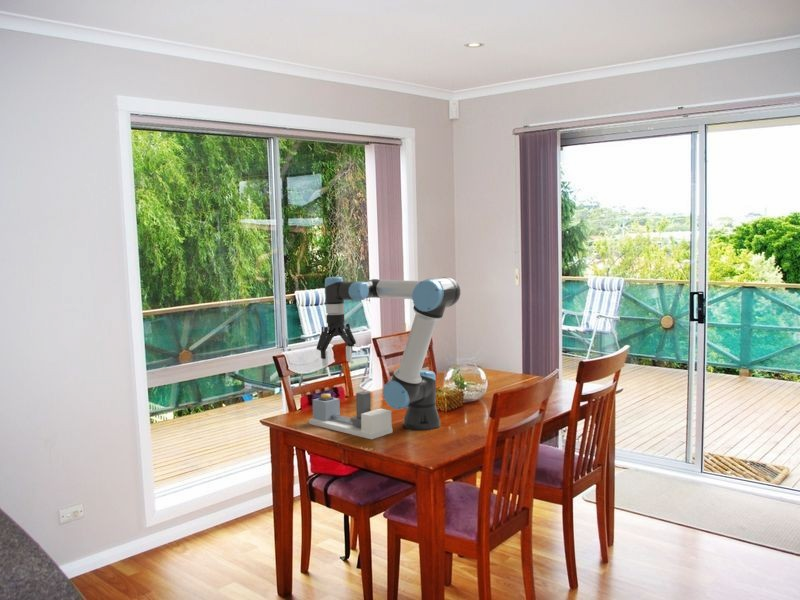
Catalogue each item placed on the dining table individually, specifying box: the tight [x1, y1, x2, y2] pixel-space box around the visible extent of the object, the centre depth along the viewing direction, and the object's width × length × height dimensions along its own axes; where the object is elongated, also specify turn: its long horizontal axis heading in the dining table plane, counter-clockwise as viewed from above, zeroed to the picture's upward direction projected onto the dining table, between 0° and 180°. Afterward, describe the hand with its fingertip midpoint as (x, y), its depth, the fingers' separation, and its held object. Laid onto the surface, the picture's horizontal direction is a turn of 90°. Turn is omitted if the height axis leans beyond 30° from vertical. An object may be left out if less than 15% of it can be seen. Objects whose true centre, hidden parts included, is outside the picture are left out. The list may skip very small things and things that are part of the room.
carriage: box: [349, 391, 372, 427], centre depth 290 cm, size 7×8×13 cm
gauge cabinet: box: [312, 397, 341, 421], centre depth 305 cm, size 8×8×8 cm
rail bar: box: [331, 414, 353, 425], centre depth 295 cm, size 22×2×2 cm, turn 49°
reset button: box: [318, 393, 334, 401], centre depth 304 cm, size 4×4×5 cm
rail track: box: [308, 408, 394, 440], centre depth 296 cm, size 36×12×9 cm, turn 49°
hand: (337, 363), depth 305 cm, fingers open, 13 cm apart
